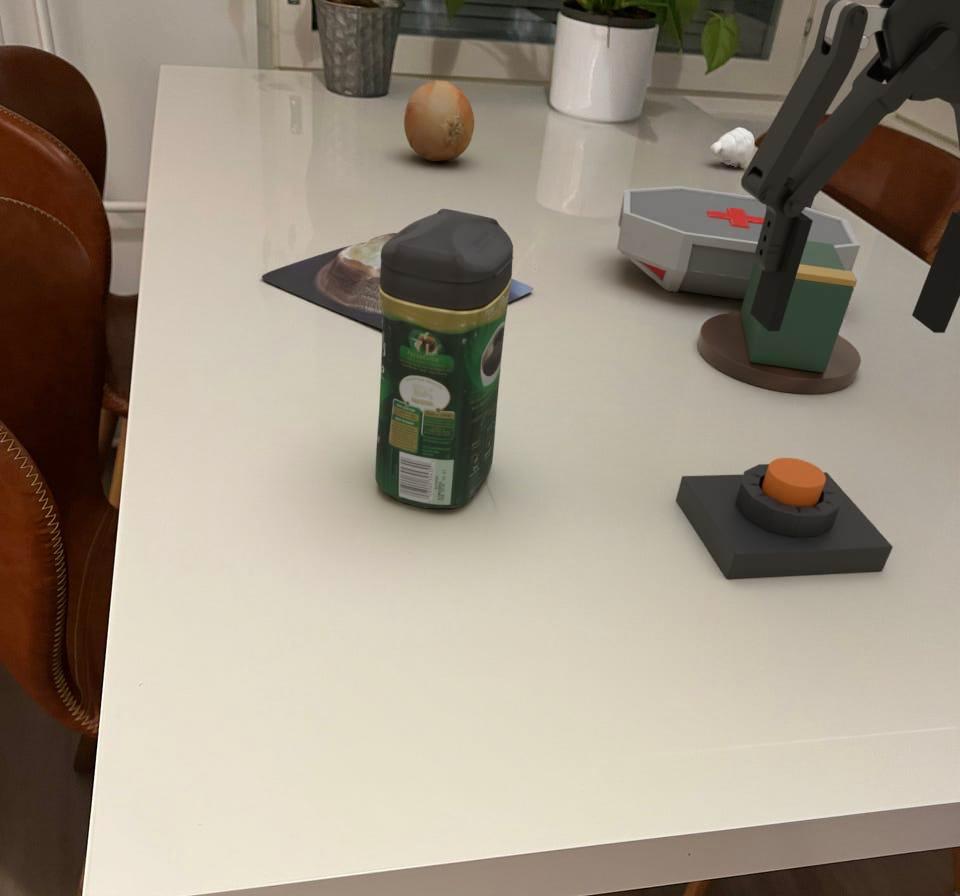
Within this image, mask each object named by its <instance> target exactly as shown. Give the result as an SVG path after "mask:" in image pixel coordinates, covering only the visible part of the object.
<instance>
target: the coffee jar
mask: <svg viewBox="0 0 960 896" xmlns="http://www.w3.org/2000/svg"><path fill="white" fill-rule="evenodd" d="M396 233H397V234H396V235H394V236H393V237H392V238H391V239H390V240H389V241H388V242H386V243H385V244H384V245H383V247H382V250H381V269H380V285H379V294H380V302H381V311H382V329H381V356H380V358H381V359H380V361H381V362H380V364H381V365H380V383H379V384H380V385H379V404H378V405H379V406H378V420H377V421H378V422H377V433H376V448H375V449H376V451H375V452H376V453H375V471H374V472H375V474H374V475H375V476H374V478H375V482H376V484H377V486H378V487H379V489H380V490H382V492H384V493H385V494H387V495H389V496H391V497H393V498H394V499H395V500H397V501H399V502H402V503H404V504H408V505H410V506H413V507H419V508H424V509H451V508H454V509H455V508H459V507H461V506H463V505H465V504H466V503H467V502H468V501H470V500H471V499H472V498H473V497H474V495H475V494H476V493H477V492H478V491H479V489H480V488H481V487H482V485H483V484H484V482H485V481H486V479H487V478H488V475H489V473H490V471H491V468H492V466H493V460H494V452H495V451H494V450H495V449H494V448H495V438H496V424H497V411H498V401H499V400H498V399H499V389H500V386H499V385H500V377H501V369H502V368H501V367H502V357H503V356H502V355H503V347H504V337H505V329H506V320H507V312H508V306H509V303H508V299H509V292H510V285H511V279H512V276H513V259H514V245H513V242H512V239H511V237H510V235H509V234H508V233H507V232H506V230H505V229H504V228H503V227H502V226H501V225H500V223H499V222H498V220H497V219H495V218H494V217H489V216H484V215H481V214H474V213H471V212H470V213H469V212H465V211H459V210H454V209H449V208H441V209H439V210H438V211H437V212H436V213H433V214H430V215H427V216H425V217H422V218H420V219H418V220H416V221H413V222H412V223H410V224H408V225H406V226H405V227H404V228H403V229H401V230H399V231H398V232H396Z"/></svg>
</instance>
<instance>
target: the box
mask: <svg viewBox="0 0 960 896" xmlns="http://www.w3.org/2000/svg"><path fill="white" fill-rule="evenodd" d="M761 273H762V268H761V267H760V266H759V265H758V264H756V263H755V261H754V265H753V268H752V272H751V276H750V279H749V283H748V287H747V290H746V294H745V298H744V300H743V301H742V305H741V309H740V311H739V312H740V315H741V320H742V325H743V330H744V334H745V339H746V344H747V348H748V353H749V358H750V362H751V363H758V364H765V365H772V366H779V367H787V368H794V369H801V370H808V371H815V372H822V373H825V372H826V369H827V366H828V363H829V360H830V357H831V354H832V351H833V348H834V345H835V342H836V339H837V337H838V335H839V334H840V331H841V327H842V324H843V322H844V319H845V317H846V316H845V315H846V313H847V310H848V307H849V305H850V301H851V299H852V295H853V293H854V290H855V288H856V285H857V283H858V280H857V277H856V276H855V273H854V271H853V270H852V271H845V268H844V266H843V264H842V262H841V260H840V258H839V256H838V254H837V251H836V249H835V247H834V245H833V244H828V243H820V242H813V241H807V242H806V245H805V248H804V252H803V255H802V258H801V262H800V265H799V268H798V271H797V275H796V278H795V281H794V285H793V288H792V291H791V295H790V298H789V301H788V305H787V308H786V311H785V314H784V318H783V321H782V324H781V328H780V331H767V330H766V329H765V328H764V327H763V326H762V325H761V324H760V323H759V322H758V321H757V320H756V319H755V318H754V317H753V316H752V315H751V314H750V312H751V308H752V305H753V301H754V298H755V294H756V291H757V287H758V283H759V280H760V276H761Z"/></svg>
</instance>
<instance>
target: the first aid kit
mask: <svg viewBox="0 0 960 896" xmlns="http://www.w3.org/2000/svg"><path fill="white" fill-rule="evenodd" d="M802 213H803V214H805V215H806V216H807V217H809V218H810V219H811V220H813V222H812V225H811V229H810V232H809V235H808V238H807V241H813V242H820V243H828V244H833V245H834V247H835V249H836V251H837V254H838V256H839V258H840V260H841V262H842V264H843V266H844V268H845V271H852V272H853V269H854V265H855V263H856V261H857V256H858V254H859V251H860V248H861V244H860V242H859V240H858V238H857V236H856V234H855V233H854V231H853V229H852V226H851V225H850V222H849V221H848V219H846V218H842V217H839V216H836V215H832V214H830V213H827V212H823V211H821V210H817V209H814V208H812V207H811V208H808V207H805V209H804V210H803V211H802ZM765 214H766V205H765V204H762V203H761V202H760V201H758V200H757V199H756V198H754V197H753V196H752V195H746V194H741V193H740V194H739V193H732V192H725V191H719V190H717V191H716V190H709V189H703V188H695V187H688V186H681V185H675V186H657V187H656V186H655V187H642V188H640V187H639V188H625V189H624V191H623V195H622V202H621V207H620V211H619V218H618V223H617V226H618V227H619V234H618V240H617V245H616V249H617V250H618V251H619V252H620V253H621V254H622V255H624V257H626V258H627V259H628V260H630V261H631V262H632V263H633V264H635V266H637V267H638V268H639V269H640V270H641V271H642V272H644V273H645V274H646V275H647V276H649V277H650V278H651V279H652V280H653V281H655V282H656V283H657V284H658V285H659V286H660V287H662V288H663V289H664V290H665V291H666V290H667V291H666V292H671V291H673V292H672V293H678V292H679V291H680V292H685V293H694V294H701V295H708V296H716V297H721V298H728V299H729V298H730V299H736V300H743V301H744V298H745V294H746V290H747V287H748V283H749V279H750V276H751V272H752V268H753V265H754V261H755V251H756V247H757V245H758V240H759V237H760V232H761V229H762V225H763V221H764V218H765Z"/></svg>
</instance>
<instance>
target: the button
mask: <svg viewBox="0 0 960 896" xmlns="http://www.w3.org/2000/svg"><path fill="white" fill-rule="evenodd" d="M768 464H769V466H768V469H767V472H766V475H765V478H764V481H763V484H762V490H763V492H764V493H765V494H766V495H768V496H770V497H771V498H773V499H775V500H777V501H779V502H781V503H784V504H788V505H792V506H796V507H806V506H814V505H815V504H816V503H817V502H818V500H819V497H820V495H821V492H822V489H823V487H824V484H825V481H826V477H825V474H824V473H823V472H824V471H823V470H822V469H821V468H820V467H818V466H816V465H814V464H813V463H812V462H809V461H806V460H804V459H803V460H802V459H800V458H795V457H780V458H779V457H778V458H776V459H774V460H771V461H770V462H769V463H768Z"/></svg>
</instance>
